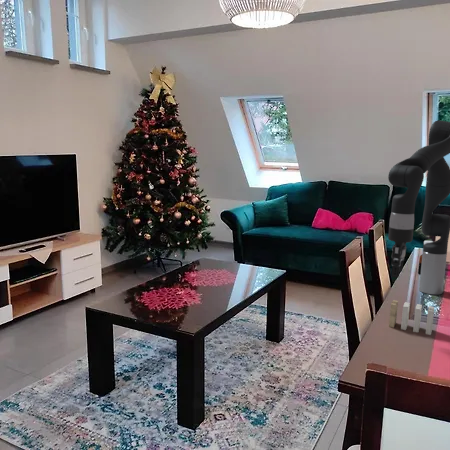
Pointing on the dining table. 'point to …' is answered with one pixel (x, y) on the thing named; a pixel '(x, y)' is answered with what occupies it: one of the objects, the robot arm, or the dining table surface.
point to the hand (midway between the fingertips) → (396, 273)
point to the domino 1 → (393, 313)
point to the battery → (420, 264)
